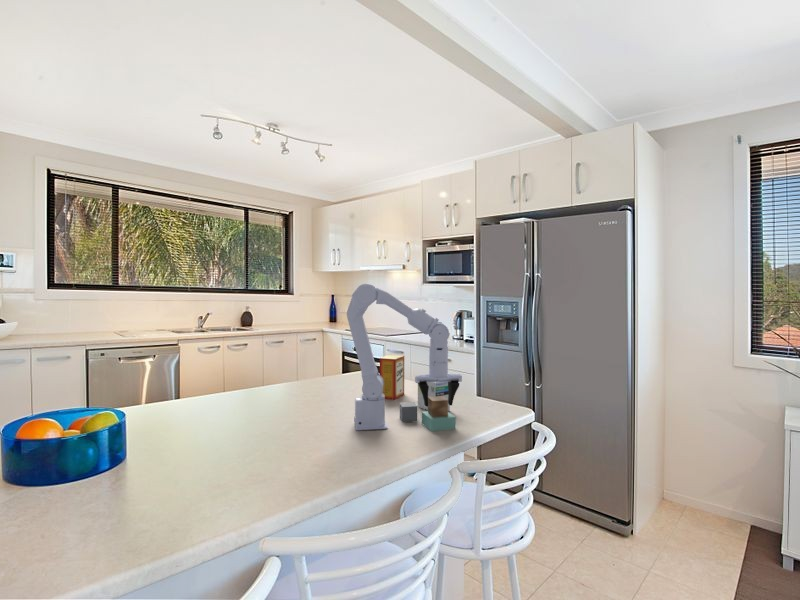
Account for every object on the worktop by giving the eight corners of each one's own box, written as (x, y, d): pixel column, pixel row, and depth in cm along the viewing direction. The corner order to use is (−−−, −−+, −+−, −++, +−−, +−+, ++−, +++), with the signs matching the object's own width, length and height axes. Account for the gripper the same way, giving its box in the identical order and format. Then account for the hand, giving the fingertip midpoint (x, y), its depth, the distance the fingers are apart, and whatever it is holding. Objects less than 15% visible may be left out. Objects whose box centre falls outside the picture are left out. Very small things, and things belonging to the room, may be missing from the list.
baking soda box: (389, 392, 176) (389, 353, 175) (404, 394, 173) (404, 354, 173) (379, 398, 167) (379, 357, 167) (395, 399, 165) (395, 358, 164)
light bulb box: (450, 410, 150) (450, 380, 150) (435, 414, 146) (435, 382, 146) (431, 404, 159) (431, 375, 158) (416, 406, 155) (416, 377, 155)
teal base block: (431, 432, 128) (431, 419, 128) (421, 424, 136) (421, 411, 136) (455, 429, 131) (455, 416, 130) (444, 422, 138) (445, 409, 138)
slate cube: (402, 422, 137) (402, 406, 137) (399, 417, 142) (399, 402, 142) (417, 421, 138) (417, 406, 138) (414, 417, 143) (414, 402, 143)
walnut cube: (431, 417, 130) (432, 400, 130) (428, 412, 135) (428, 396, 135) (447, 416, 131) (447, 400, 131) (443, 411, 136) (443, 396, 136)
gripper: (418, 364, 128) (417, 409, 128) (465, 363, 130) (464, 407, 130) (413, 360, 134) (413, 403, 135) (458, 359, 137) (457, 401, 137)
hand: (438, 405), depth 133 cm, fingers open, 7 cm apart
